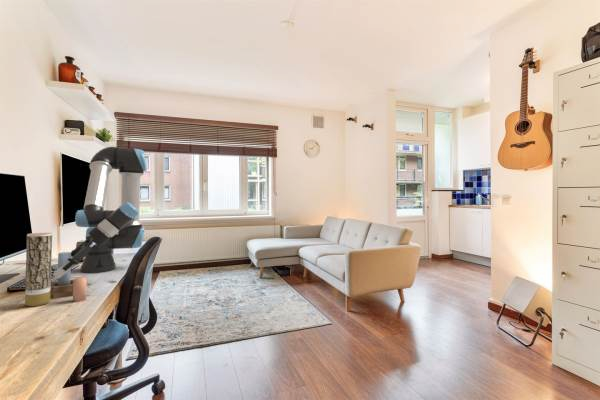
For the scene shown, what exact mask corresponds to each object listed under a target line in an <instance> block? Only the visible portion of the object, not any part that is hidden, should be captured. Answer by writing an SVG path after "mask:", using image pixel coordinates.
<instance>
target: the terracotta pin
mask: <svg viewBox="0 0 600 400" xmlns="http://www.w3.org/2000/svg"><path fill="white" fill-rule="evenodd" d="M87 280H88V278H87V277H83V276H82V277H76V278H73V296H72V302H74V303H80V301H81V302H84V301H86V300H87V287H88V286H87V282H88V281H87Z"/></svg>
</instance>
